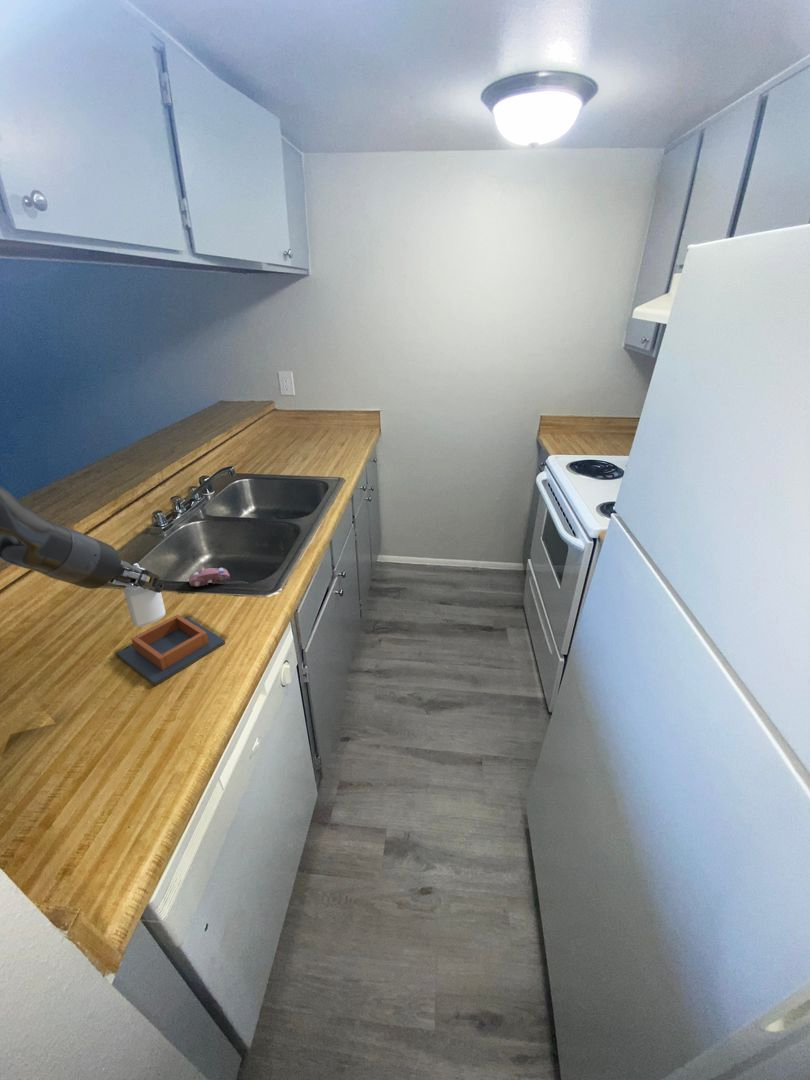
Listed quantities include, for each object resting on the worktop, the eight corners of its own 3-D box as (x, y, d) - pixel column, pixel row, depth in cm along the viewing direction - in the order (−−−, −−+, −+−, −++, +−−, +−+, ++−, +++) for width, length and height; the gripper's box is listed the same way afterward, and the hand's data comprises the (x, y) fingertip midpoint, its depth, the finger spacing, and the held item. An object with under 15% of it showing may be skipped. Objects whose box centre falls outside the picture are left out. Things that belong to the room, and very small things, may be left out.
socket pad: (155, 686, 91) (151, 670, 89) (117, 656, 98) (112, 641, 96) (225, 643, 103) (222, 628, 101) (187, 619, 110) (184, 605, 108)
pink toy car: (191, 596, 121) (187, 581, 116) (189, 581, 123) (185, 566, 118) (231, 588, 125) (230, 574, 119) (229, 574, 127) (227, 559, 122)
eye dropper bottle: (165, 623, 88) (152, 567, 82) (131, 629, 86) (115, 572, 80) (166, 610, 91) (154, 556, 86) (134, 615, 89) (119, 560, 84)
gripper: (124, 542, 71) (190, 572, 87) (48, 528, 74) (126, 559, 90) (104, 590, 69) (176, 611, 85) (27, 573, 72) (110, 597, 88)
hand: (150, 584), depth 87 cm, fingers closed on eye dropper bottle, 4 cm apart
